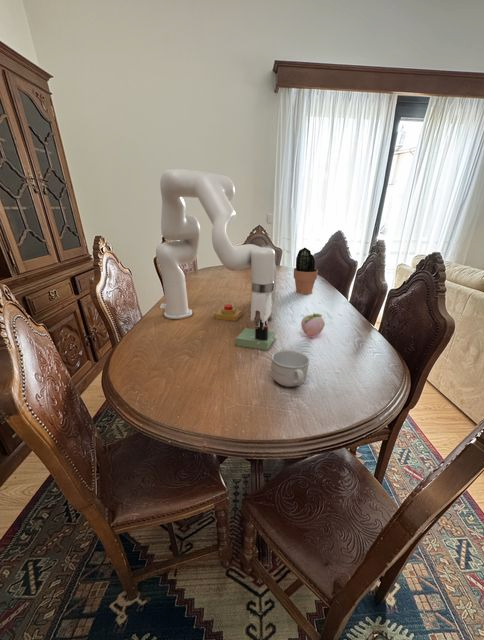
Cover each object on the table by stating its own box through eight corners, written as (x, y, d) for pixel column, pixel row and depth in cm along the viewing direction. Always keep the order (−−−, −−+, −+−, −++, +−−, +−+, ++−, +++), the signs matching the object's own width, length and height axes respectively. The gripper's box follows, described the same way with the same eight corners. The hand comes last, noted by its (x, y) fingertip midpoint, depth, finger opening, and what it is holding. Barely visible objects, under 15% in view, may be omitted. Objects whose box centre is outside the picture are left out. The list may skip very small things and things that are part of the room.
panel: (234, 347, 104) (234, 339, 102) (245, 334, 114) (245, 327, 112) (269, 353, 100) (270, 345, 99) (278, 339, 110) (278, 332, 109)
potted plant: (317, 295, 161) (322, 249, 150) (293, 295, 161) (296, 249, 150) (313, 289, 173) (318, 245, 162) (291, 288, 173) (294, 245, 162)
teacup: (268, 371, 89) (269, 349, 86) (303, 370, 90) (305, 348, 87) (274, 399, 77) (275, 374, 73) (313, 397, 78) (316, 372, 74)
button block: (214, 318, 129) (214, 310, 127) (222, 312, 135) (221, 304, 133) (235, 321, 126) (235, 312, 124) (242, 315, 133) (241, 306, 131)
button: (223, 310, 128) (222, 306, 127) (226, 307, 131) (226, 303, 130) (230, 311, 127) (230, 307, 126) (233, 308, 130) (233, 304, 129)
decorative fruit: (309, 330, 119) (312, 307, 114) (326, 336, 114) (329, 312, 109) (295, 336, 113) (297, 312, 108) (312, 343, 108) (314, 318, 103)
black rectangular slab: (255, 338, 103) (255, 325, 101) (256, 337, 105) (256, 323, 102) (267, 340, 102) (267, 326, 100) (268, 338, 104) (268, 325, 101)
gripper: (258, 280, 102) (258, 327, 111) (243, 292, 89) (244, 345, 98) (279, 282, 100) (277, 330, 109) (266, 294, 87) (265, 348, 96)
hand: (261, 337), depth 103 cm, fingers closed
